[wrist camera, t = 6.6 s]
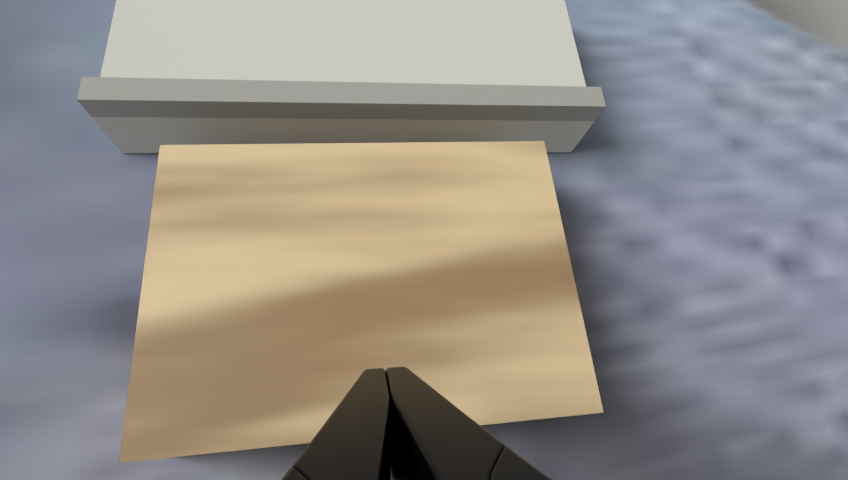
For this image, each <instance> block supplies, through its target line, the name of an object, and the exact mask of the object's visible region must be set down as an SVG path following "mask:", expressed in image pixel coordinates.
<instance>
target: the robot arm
mask: <svg viewBox="0 0 848 480" xmlns="http://www.w3.org/2000/svg"><path fill="white" fill-rule="evenodd" d="M391 475H392V480H552V479H550V478H549V477H547V476H546V475H544V474H543V473H541V472H540V471H539V470H537V469H536V468H535V467H533V466H532V465H531V464H529V463H528V462H527V461H525V460H524V459H523V458H521V457H520V456H519V455H518V454H516V453H515V452H514V451H513V450H511V449H510V448H509V447H505V445H504V444H503V443H501V442H500V441H499V440H498V439H496V438H495V437H494V436H492V435H491V434H490V433H489V432H487V431H486V430H485V429H484V428H482V427H481V426H480V425H479V424H477V423H476V422H475V421H474V420H472V419H471V418H470V417H468V416H467V415H466V414H465V413H463V412H462V411H461V410H460V409H458V408H457V407H456V406H455V405H453V404H452V403H451V402H450V401H448V400H447V399H446V398H445V397H443V396H442V395H441V394H439V393H438V392H437V391H436V390H434V389H433V388H432V387H431V386H429V385H428V384H427V383H426V382H424V381H423V380H422V379H421V378H419V377H418V376H417V375H416V374H414V373H413V372H412V371H410V370H409V369H408V368H406V367H389V368H387V369H386V372H385V370H384V369H383V368H375V369H366V370H364V371H363V373H362V374H361V375H360V377H359V378H358V379H357V381H356V382H355V383H354V385H353V386H352V387H351V389H350V390H349V391H348V393H347V394H346V395H345V397H344V398H343V400H342V401H341V402H340V404H339V405H338V406H337V408H336V409H335V410H334V412H333V413H332V414H331V416H330V417H329V418H328V420H327V421H326V422H325V424H324V425H323V426H322V428H321V429H320V430H319V432H318V433H317V434H316V436H315V437H314V438H313V440H312V441H311V442H310V444H309V445H308V446H307V448H306V449H305V450H304V452H303V453H302V454H301V456H300V457H299V458H298V460H297V461H296V462H295V464H294V465H293V467H292V468H290V469H289V471H288V472H287V473H286V475H285V476H284V477H283V479H282V480H390V478H391Z"/></svg>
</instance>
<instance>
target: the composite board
mask: <svg viewBox="0 0 848 480" xmlns="http://www.w3.org/2000/svg"><path fill="white" fill-rule="evenodd" d="M77 100H78V102H79V103H80V104H81V105H82V106H83V107H84V109H85V110H86V111H87V112H88V113H89V114H90V116H91V117H92V118H93V119H94V120H95V121H96V122H97V124H98V125H99V126H100V127H101V128H102V129H103V131H104V132H105V133H106V134H107V135H108V136H109V138H110V139H111V140H112V141H113V142H114V143H115V145H116V146H117V147H118V148H119V149H120V150H121V151H122V153H159V148H160V145H203V144H303V143H403V142H504V141H544V142H545V147H546V151H547V152H572V151H573V149H574V148H575V147H576V146H577V144H578V143H579V142H580V140H581V139H582V138H583V136H584V135H585V134H586V132H587V131H588V130H589V128H590V127H591V126H592V124H593V123H594V122H595V121H596V119H597V118H598V117H599V115H600V114H601V113H602V111H603V110H604V109H605V107H606V104H605V100H604V97H603V93H602V89H601V87H586V83H585V79H584V75H583V72H582V68H581V64H580V60H579V56H578V52H577V48H576V44H575V40H574V36H573V32H572V28H571V24H570V20H569V16H568V12H567V9H566V5H565V1H564V0H116V5H115V10H114V14H113V19H112V24H111V29H110V33H109V38H108V43H107V47H106V52H105V57H104V61H103V66H102V71H101V76H100V77H82V79H81V83H80V88H79V92H78V96H77Z"/></svg>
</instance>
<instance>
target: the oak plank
mask: <svg viewBox="0 0 848 480" xmlns="http://www.w3.org/2000/svg"><path fill="white" fill-rule="evenodd" d="M389 367H406V368H408V369H409V370H410V371H412V372H413V373H414V374H416V375H417V376H418V377H419V378H421V379H422V380H423V381H424V382H426V383H427V384H428V385H429V386H431V387H432V388H433V389H434V390H436V391H437V392H438V393H439V394H441V395H442V396H443V397H445V398H446V399H447V400H448V401H450V402H451V403H452V404H453V405H455V406H456V407H457V408H458V409H460V410H461V411H462V412H463V413H465V414H466V415H467V416H468V417H470V418H471V419H472V420H474V421H475V422H476V423H477V424H479V425H489V424H498V423H508V422H518V421H527V420H537V419H547V418H556V417H566V416H576V415H585V414H595V413H604V412H603V407H602V403H601V398H600V393H599V389H598V384H597V380H596V375H595V371H594V366H593V361H592V357H591V352H590V348H589V343H588V339H587V334H586V329H585V325H584V320H583V316H582V311H581V307H580V302H579V298H578V293H577V288H576V284H575V279H574V275H573V270H572V266H571V261H570V256H569V252H568V247H567V243H566V238H565V234H564V229H563V225H562V220H561V215H560V211H559V206H558V202H557V197H556V193H555V188H554V183H553V179H552V174H551V170H550V165H549V161H548V156H547V151H546V147H545V142H544V141H504V142H403V143H303V144H203V145H160V148H159V156H158V164H157V171H156V179H155V187H154V195H153V202H152V210H151V218H150V226H149V233H148V241H147V249H146V257H145V265H144V272H143V280H142V288H141V296H140V303H139V311H138V319H137V327H136V334H135V342H134V350H133V358H132V366H131V373H130V381H129V389H128V397H127V404H126V412H125V420H124V428H123V435H122V443H121V451H120V459H119V463H122V462H132V461H141V460H151V459H161V458H170V457H180V456H190V455H199V454H209V453H218V452H228V451H238V450H247V449H257V448H267V447H276V446H286V445H296V444H305V443H310V442H311V441H312V440H313V438H314V437H315V436H316V434H317V433H318V432H319V430H320V429H321V428H322V426H323V425H324V424H325V422H326V421H327V420H328V418H329V417H330V416H331V414H332V413H333V412H334V410H335V409H336V408H337V406H338V405H339V404H340V402H341V401H342V400H343V398H344V397H345V395H346V394H347V393H348V391H349V390H350V389H351V387H352V386H353V385H354V383H355V382H356V381H357V379H358V378H359V377H360V375H361V374H362V373H363V371H364V370H366V369H375V368H383V369H384V370H385V372H386V369H387V368H389Z"/></svg>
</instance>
